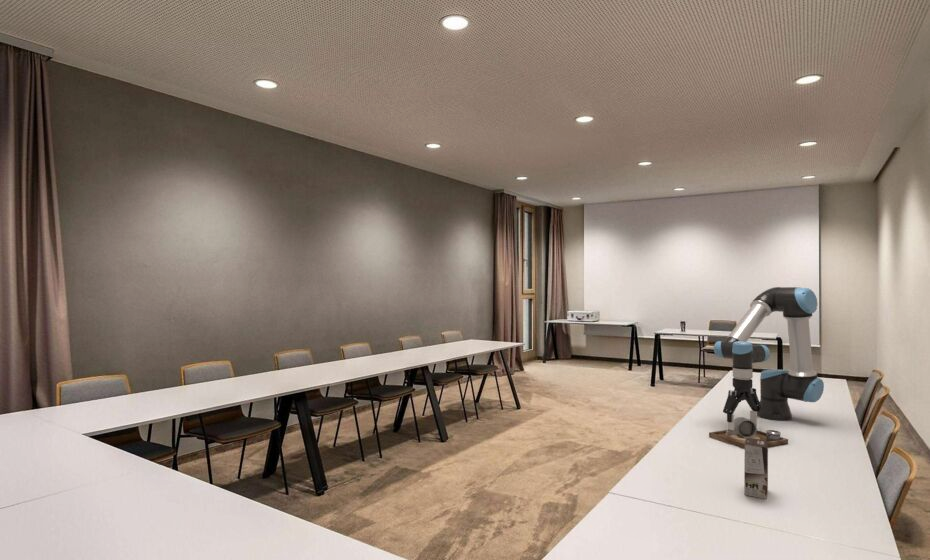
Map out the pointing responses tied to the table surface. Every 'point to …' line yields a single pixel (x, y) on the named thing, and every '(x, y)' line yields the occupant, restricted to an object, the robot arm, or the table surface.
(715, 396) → the table surface
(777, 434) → the sugar tin
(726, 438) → the tray
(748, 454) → the coffee box
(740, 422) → the ceramic mug
